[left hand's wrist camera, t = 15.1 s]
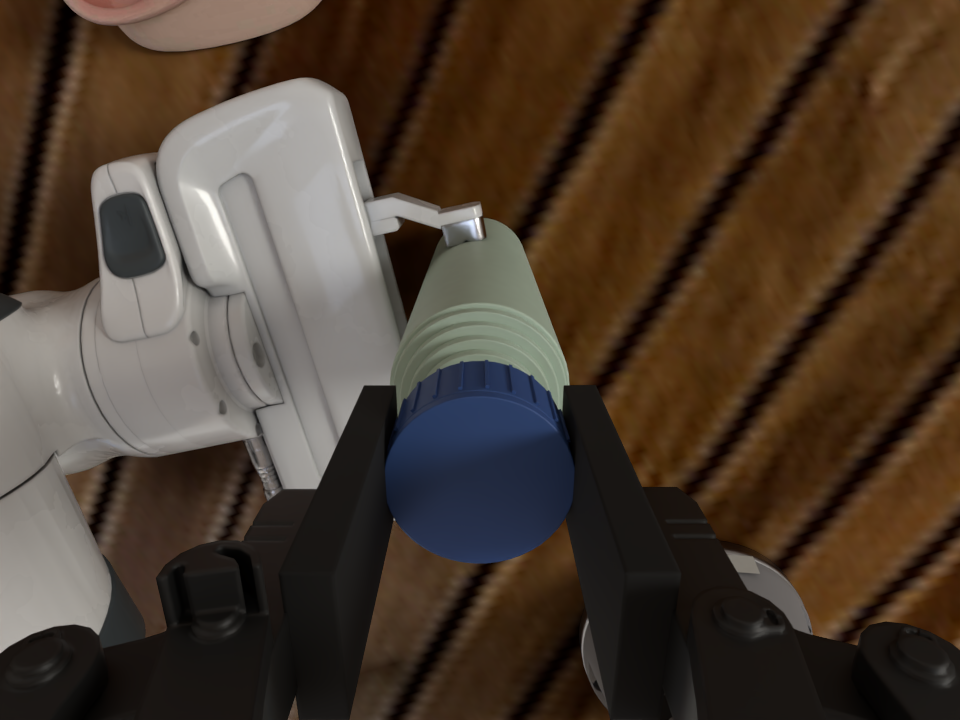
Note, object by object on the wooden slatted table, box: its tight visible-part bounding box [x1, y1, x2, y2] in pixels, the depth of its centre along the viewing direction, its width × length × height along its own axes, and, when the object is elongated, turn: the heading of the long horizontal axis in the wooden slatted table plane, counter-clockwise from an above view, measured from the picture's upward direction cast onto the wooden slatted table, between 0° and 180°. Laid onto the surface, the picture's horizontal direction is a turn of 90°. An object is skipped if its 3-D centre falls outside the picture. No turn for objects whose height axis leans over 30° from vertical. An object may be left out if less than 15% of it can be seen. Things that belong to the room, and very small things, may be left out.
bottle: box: [390, 218, 569, 415], centre depth 24 cm, size 5×5×22 cm
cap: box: [385, 360, 575, 563], centre depth 14 cm, size 4×4×2 cm
